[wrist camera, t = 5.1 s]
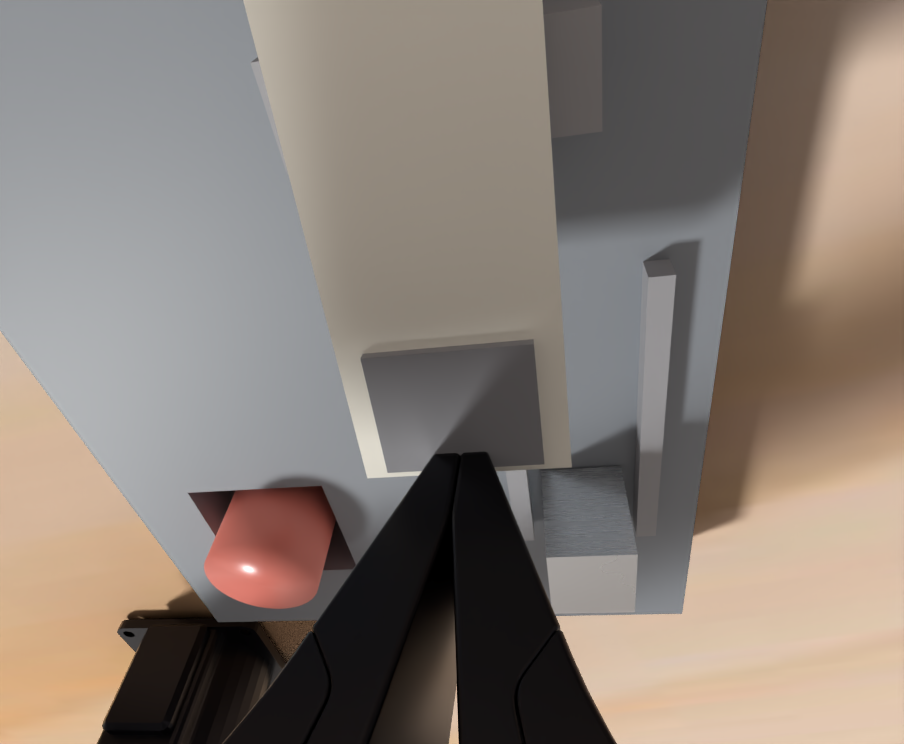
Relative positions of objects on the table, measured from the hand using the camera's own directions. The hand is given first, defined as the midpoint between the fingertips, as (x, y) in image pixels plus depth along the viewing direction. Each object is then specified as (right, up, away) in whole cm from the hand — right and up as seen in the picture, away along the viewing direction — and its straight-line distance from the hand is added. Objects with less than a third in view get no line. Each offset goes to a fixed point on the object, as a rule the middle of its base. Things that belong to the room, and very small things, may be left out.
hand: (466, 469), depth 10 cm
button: (-5, -2, +11) cm, 12 cm away
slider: (+3, -2, +7) cm, 8 cm away
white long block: (-1, +5, -2) cm, 5 cm away
